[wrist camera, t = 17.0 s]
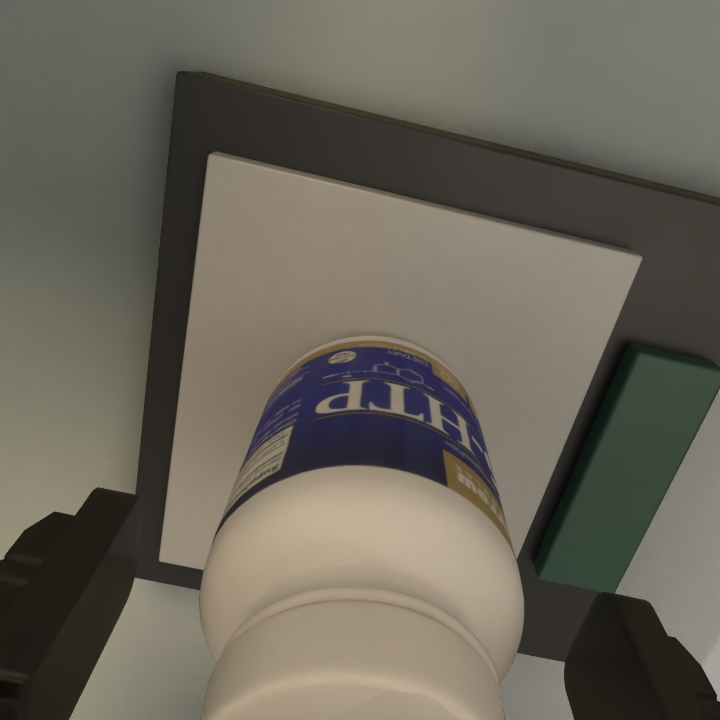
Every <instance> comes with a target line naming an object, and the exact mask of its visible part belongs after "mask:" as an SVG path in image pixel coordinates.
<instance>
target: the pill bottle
mask: <svg viewBox="0 0 720 720" xmlns="http://www.w3.org/2000/svg"><path fill="white" fill-rule="evenodd" d="M199 601H200V616H201V623H202V628H203V632H204V637H205V640H206V642H207V645H208V648H209V650H210V652H211V654H212V657H213V658H214V660H215V662H216V666H215V668H214V670H213V673H212V675H211V677H210V680H209V684H208V687H207V692H206V697H205V701H204V705H203V709H202V713H201V717H200V720H505V716H504V711H503V706H502V698H501V695H500V691H499V684H500V682H501V681H502V680H503V678H504V677H505V676H506V674H507V672H508V670H509V668H510V666H511V664H512V662H513V660H514V658H515V656H516V653H517V650H518V647H519V644H520V641H521V636H522V631H523V623H524V596H523V590H522V584H521V579H520V574H519V569H518V564H517V560H516V557H515V553H514V549H513V545H512V541H511V538H510V534H509V531H508V527H507V523H506V520H505V516H504V512H503V508H502V504H501V500H500V496H499V492H498V488H497V485H496V481H495V478H494V474H493V471H492V467H491V464H490V460H489V456H488V452H487V448H486V445H485V441H484V437H483V433H482V429H481V425H480V422H479V418H478V415H477V411H476V408H475V405H474V402H473V400H472V397H471V395H470V394H469V392H468V390H467V388H466V387H465V385H464V384H463V382H462V381H461V379H460V378H459V377H458V376H457V375H456V373H455V372H454V371H453V370H452V369H451V368H450V367H449V366H448V365H447V364H445V363H444V362H443V361H442V360H441V359H439V358H438V357H437V356H435V355H434V354H432V353H431V352H429V351H427V350H425V349H424V348H422V347H419V346H417V345H415V344H413V343H410V342H407V341H403V340H400V339H396V338H391V337H385V336H356V337H348V338H343V339H339V340H336V341H332V342H329V343H327V344H324V345H322V346H320V347H317V348H315V349H313V350H312V351H310V352H308V353H307V354H305V355H304V356H302V357H301V358H300V359H298V360H297V361H296V362H295V363H294V364H293V365H292V366H291V367H290V368H289V369H288V370H287V371H286V372H285V373H284V374H283V375H282V377H281V378H280V380H279V381H278V382H277V384H276V385H275V387H274V389H273V391H272V393H271V395H270V397H269V399H268V401H267V403H266V406H265V408H264V411H263V413H262V416H261V418H260V421H259V423H258V426H257V428H256V431H255V433H254V436H253V438H252V441H251V444H250V446H249V449H248V451H247V454H246V456H245V459H244V461H243V464H242V466H241V468H240V471H239V473H238V476H237V479H236V482H235V484H234V487H233V489H232V491H231V495H230V497H229V500H228V502H227V505H226V508H225V510H224V513H223V516H222V518H221V521H220V523H219V526H218V528H217V531H216V533H215V536H214V539H213V542H212V545H211V548H210V552H209V555H208V558H207V561H206V564H205V567H204V571H203V576H202V581H201V587H200V597H199Z"/></svg>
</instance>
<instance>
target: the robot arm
mask: <svg viewBox="0 0 720 720" xmlns="http://www.w3.org/2000/svg"><path fill="white" fill-rule="evenodd" d="M142 513H143V498H142V496H138V495H133V494H129V493H124V492H119V491H114V490H109V489H104V488H99V487H98V488H95V489H94V490H93V491H92V493H91V494H90V495H89V497H88V498H87V500H86V501H85V502H84V504H83V505H82V507H81V508H80V509H79V511H78V512H77V514H76V515H75V516H74V515H69V514H64V513H59V512H53V513H51V514H50V515H48V516H47V517H45V518H43V519H42V520H40V521H39V522H37V523H35V524H34V525H32V526H30V527H29V528H27V529H26V530H24V532H23V533H22V534H21V535H20V537H19V538H18V539H17V541H16V542H15V543H14V544H13V546H12V547H11V548H10V549H9V551H8V552H7V553H6V554H5V558H4V560H1V561H0V720H69V718H70V716H71V714H72V712H73V710H74V708H75V706H76V704H77V702H78V700H79V698H80V696H81V694H82V692H83V690H84V688H85V686H86V684H87V682H88V680H89V678H90V675H91V673H92V671H93V669H94V667H95V665H96V663H97V661H98V659H99V657H100V655H101V653H102V651H103V649H104V647H105V645H106V643H107V641H108V639H109V637H110V635H111V633H112V631H113V629H114V627H115V625H116V623H117V621H118V619H119V616H120V614H121V612H122V610H123V608H124V606H125V604H126V602H127V600H128V597H129V594H130V591H131V588H132V585H133V582H134V578H135V574H136V569H137V561H138V552H139V542H140V532H141V523H142ZM564 681H565V689H566V693H567V696H568V700H569V703H570V706H571V710H572V713H573V717H574V720H720V702H719V701H717V695H716V693H715V691H714V689H713V687H712V685H711V683H710V682H709V680H708V678H707V676H706V674H705V672H704V670H703V669H702V667H701V665H700V664H699V663H698V662H697V661H696V660H695V659H694V657H693V656H692V655H691V654H690V653H689V652H688V651H687V650H686V649H685V648H684V646H683V645H682V644H681V643H680V642H679V641H678V640H677V639H676V638H675V637H670V636H667V634H666V632H665V630H664V628H663V626H662V624H661V622H660V620H659V618H658V616H657V614H656V612H655V610H654V608H653V607H652V605H651V604H650V603H649V602H648V601H646V600H643V599H638V598H633V597H628V596H623V595H618V594H613V593H608V592H601V593H599V594H598V595H597V596H596V598H595V599H594V601H593V603H592V605H591V607H590V609H589V611H588V613H587V615H586V617H585V619H584V621H583V623H582V625H581V627H580V629H579V631H578V633H577V635H576V637H575V639H574V641H573V643H572V645H571V647H570V649H569V651H568V654H567V657H566V661H565V668H564Z"/></svg>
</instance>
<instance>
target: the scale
mask: <svg viewBox="0 0 720 720" xmlns="http://www.w3.org/2000/svg"><path fill="white" fill-rule="evenodd" d="M356 336H385V337H391V338H396V339H400V340H403V341H407V342H410V343H413V344H415V345H417V346H419V347H422V348H424V349H425V350H427V351H429V352H431V353H432V354H434V355H435V356H437V357H438V358H439V359H441V360H442V361H443V362H444V363H445V364H447V365H448V366H449V367H450V368H451V369H452V370H453V371H454V372H455V373H456V375H457V376H458V377H459V378H460V379H461V381H462V382H463V384H464V385H465V387H466V388H467V390H468V392H469V394H470V395H471V397H472V400H473V402H474V405H475V408H476V411H477V415H478V418H479V422H480V425H481V429H482V433H483V437H484V441H485V445H486V448H487V452H488V456H489V460H490V464H491V467H492V471H493V474H494V478H495V481H496V485H497V488H498V492H499V496H500V500H501V504H502V508H503V512H504V516H505V520H506V523H507V527H508V531H509V534H510V538H511V541H512V545H513V549H514V553H515V557H516V560H517V564H518V569H519V574H520V579H521V584H522V590H523V596H524V623H523V631H522V636H521V641H520V644H519V647H518V650H517V653H521V654H526V655H531V656H536V657H541V658H547V659H552V660H557V661H562V662H565V661H566V657H567V654H568V651H569V649H570V647H571V645H572V643H573V641H574V639H575V637H576V635H577V633H578V631H579V629H580V627H581V625H582V623H583V621H584V619H585V617H586V615H587V613H588V611H589V609H590V607H591V605H592V603H593V601H594V599H595V598H596V596H597V595H598V594H599V593H601V592H608V593H613V594H614V593H615V591H616V589H617V587H618V585H619V583H620V581H621V579H622V577H623V576H624V574H625V572H626V570H627V568H628V566H629V564H630V562H631V560H632V558H633V556H634V554H635V552H636V550H637V548H638V546H639V544H640V542H641V541H642V539H643V537H644V535H645V533H646V531H647V529H648V527H649V525H650V523H651V521H652V519H653V517H654V515H655V513H656V511H657V509H658V508H659V506H660V504H661V502H662V500H663V498H664V496H665V494H666V492H667V490H668V488H669V486H670V484H671V482H672V480H673V478H674V476H675V474H676V473H677V471H678V469H679V467H680V465H681V463H682V461H683V459H684V457H685V455H686V453H687V451H688V449H689V447H690V445H691V443H692V441H693V440H694V438H695V436H696V434H697V432H698V430H699V428H700V426H701V424H702V422H703V420H704V418H705V416H706V414H707V412H708V410H709V408H710V406H711V405H712V403H713V401H714V399H715V397H716V395H717V393H718V391H719V389H720V198H717V197H713V196H709V195H705V194H701V193H697V192H693V191H689V190H685V189H681V188H677V187H672V186H668V185H664V184H660V183H656V182H652V181H648V180H644V179H640V178H636V177H631V176H627V175H623V174H619V173H615V172H611V171H607V170H603V169H599V168H595V167H591V166H586V165H582V164H578V163H574V162H570V161H566V160H562V159H558V158H554V157H550V156H546V155H541V154H537V153H533V152H529V151H525V150H521V149H517V148H513V147H509V146H505V145H500V144H496V143H492V142H488V141H484V140H480V139H476V138H472V137H468V136H464V135H460V134H455V133H451V132H447V131H443V130H439V129H435V128H431V127H427V126H423V125H419V124H414V123H410V122H406V121H402V120H398V119H394V118H390V117H386V116H382V115H378V114H374V113H369V112H365V111H361V110H357V109H353V108H349V107H345V106H341V105H337V104H333V103H329V102H324V101H320V100H316V99H312V98H308V97H304V96H300V95H296V94H292V93H288V92H283V91H279V90H275V89H271V88H267V87H263V86H259V85H255V84H251V83H247V82H243V81H238V80H234V79H230V78H226V77H222V76H218V75H214V74H210V73H206V72H189V71H180V72H178V73H177V74H176V84H175V94H174V104H173V115H172V125H171V135H170V145H169V156H168V166H167V176H166V187H165V197H164V207H163V218H162V228H161V238H160V248H159V259H158V269H157V279H156V290H155V300H154V310H153V320H152V331H151V341H150V351H149V362H148V372H147V382H146V392H145V403H144V413H143V423H142V434H141V444H140V454H139V465H138V475H137V485H136V495H138V496H142V498H143V513H142V523H141V532H140V542H139V552H138V561H137V569H136V574H135V578H140V579H145V580H150V581H155V582H160V583H165V584H171V585H176V586H181V587H186V588H191V589H196V590H200V587H201V581H202V576H203V571H204V567H205V564H206V561H207V558H208V555H209V552H210V548H211V545H212V542H213V539H214V536H215V533H216V531H217V528H218V526H219V523H220V521H221V518H222V516H223V513H224V510H225V508H226V505H227V502H228V500H229V497H230V495H231V491H232V489H233V487H234V484H235V482H236V479H237V476H238V473H239V471H240V468H241V466H242V464H243V461H244V459H245V456H246V454H247V451H248V449H249V446H250V444H251V441H252V438H253V436H254V433H255V431H256V428H257V426H258V423H259V421H260V418H261V416H262V413H263V411H264V408H265V406H266V403H267V401H268V399H269V397H270V395H271V393H272V391H273V389H274V387H275V385H276V384H277V382H278V381H279V380H280V378H281V377H282V375H283V374H284V373H285V372H286V371H287V370H288V369H289V368H290V367H291V366H292V365H293V364H294V363H295V362H296V361H297V360H298V359H300V358H301V357H302V356H304V355H305V354H307V353H308V352H310V351H312V350H313V349H315V348H317V347H320V346H322V345H324V344H327V343H329V342H332V341H336V340H339V339H343V338H348V337H356Z"/></svg>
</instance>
